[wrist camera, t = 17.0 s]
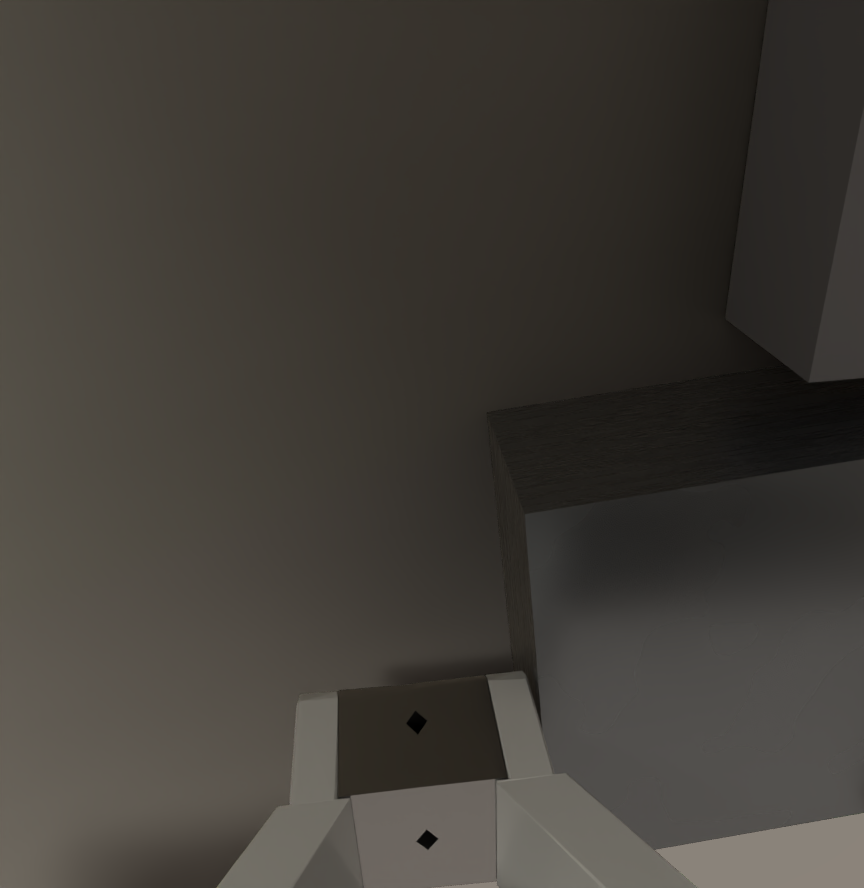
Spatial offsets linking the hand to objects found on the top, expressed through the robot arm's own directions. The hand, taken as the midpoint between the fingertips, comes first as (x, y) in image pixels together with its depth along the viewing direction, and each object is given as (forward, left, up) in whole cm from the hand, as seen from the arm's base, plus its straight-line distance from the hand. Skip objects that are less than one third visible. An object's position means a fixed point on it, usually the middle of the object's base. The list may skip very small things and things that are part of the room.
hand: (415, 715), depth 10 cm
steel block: (-1, +4, -2) cm, 4 cm away
